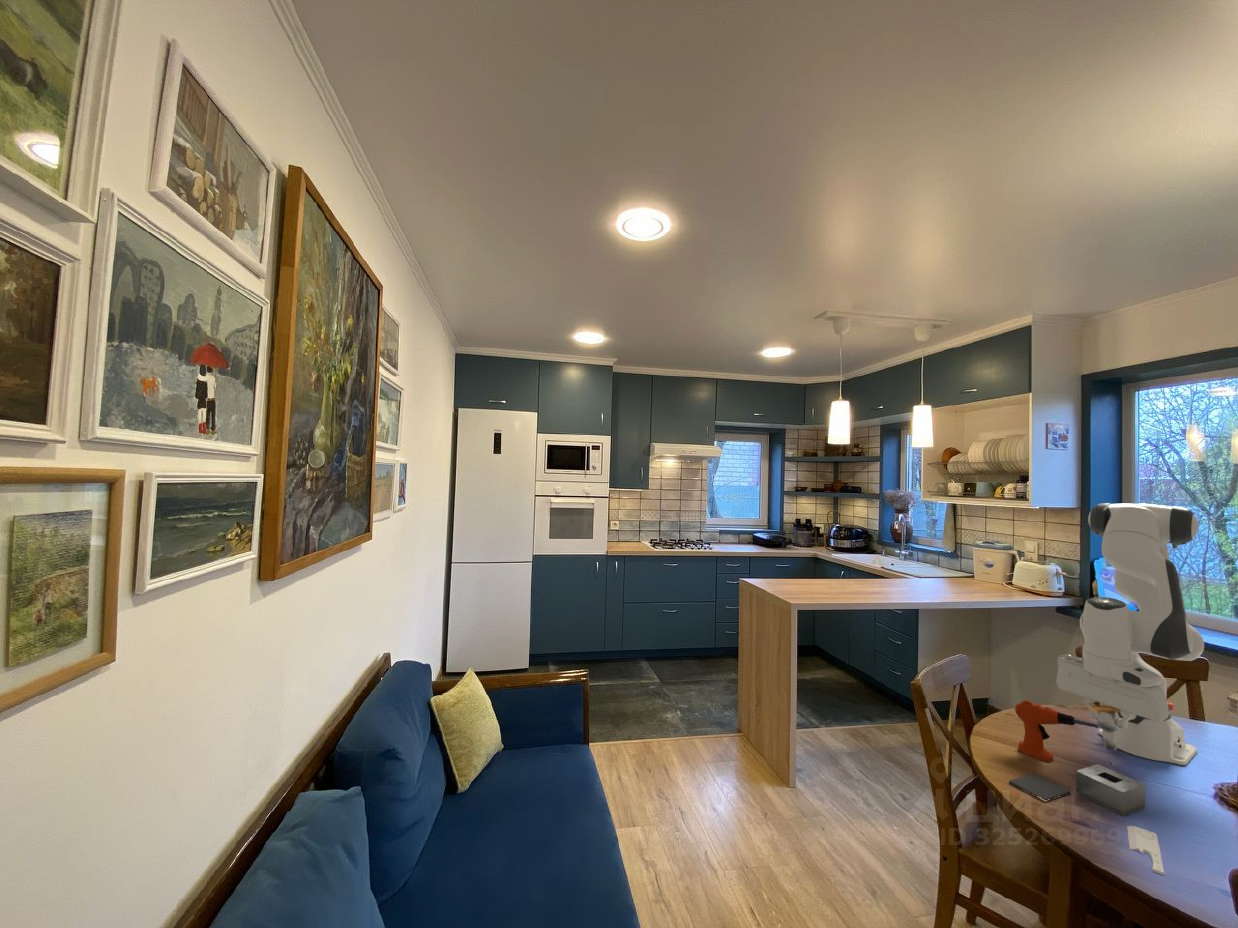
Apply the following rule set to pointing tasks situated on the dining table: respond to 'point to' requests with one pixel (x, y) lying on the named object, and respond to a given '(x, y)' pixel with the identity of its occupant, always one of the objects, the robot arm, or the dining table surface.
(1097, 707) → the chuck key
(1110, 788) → the block
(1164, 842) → the dining table surface
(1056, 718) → the toy drill
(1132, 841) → the cream flat piece
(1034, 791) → the rubber mat
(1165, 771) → the dining table surface
